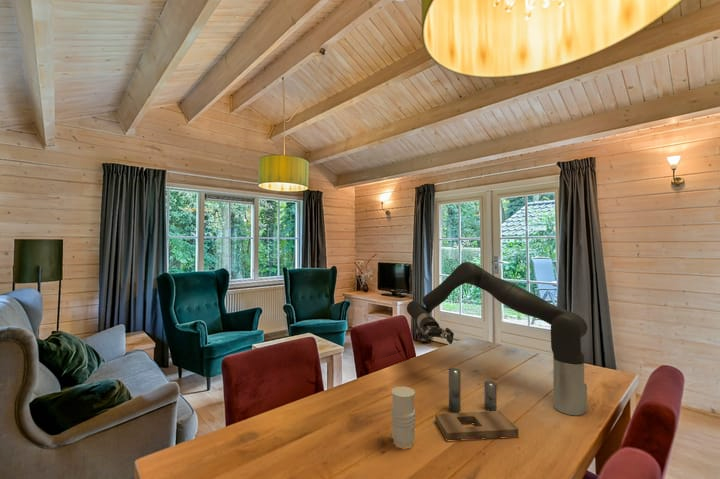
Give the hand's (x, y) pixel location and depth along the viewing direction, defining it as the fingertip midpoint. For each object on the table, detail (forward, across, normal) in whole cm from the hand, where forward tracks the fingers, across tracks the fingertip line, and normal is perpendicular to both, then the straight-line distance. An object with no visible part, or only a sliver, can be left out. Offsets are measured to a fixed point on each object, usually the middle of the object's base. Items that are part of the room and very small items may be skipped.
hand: (440, 341), depth 130 cm
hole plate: (+27, +3, +16) cm, 32 cm away
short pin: (+16, +14, +17) cm, 27 cm away
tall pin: (+16, +1, +18) cm, 24 cm away
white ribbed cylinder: (+32, -21, +17) cm, 42 cm away
